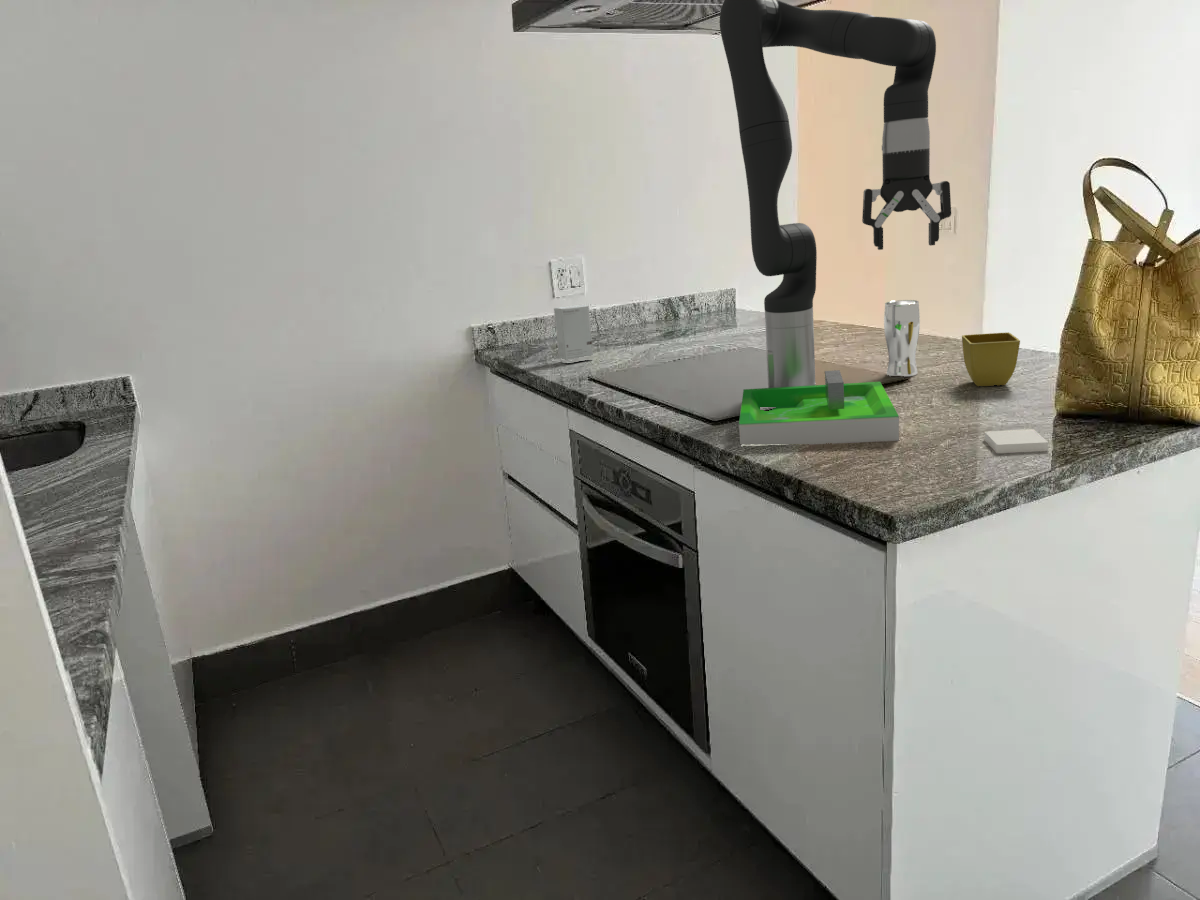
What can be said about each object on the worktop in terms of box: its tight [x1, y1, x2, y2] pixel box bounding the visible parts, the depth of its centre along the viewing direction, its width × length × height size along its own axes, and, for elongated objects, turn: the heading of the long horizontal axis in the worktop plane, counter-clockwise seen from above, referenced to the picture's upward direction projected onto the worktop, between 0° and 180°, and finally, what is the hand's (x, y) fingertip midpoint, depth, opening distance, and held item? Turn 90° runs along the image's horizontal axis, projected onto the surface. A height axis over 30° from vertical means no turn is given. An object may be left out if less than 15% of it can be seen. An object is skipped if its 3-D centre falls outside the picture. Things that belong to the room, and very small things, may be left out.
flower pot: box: [961, 332, 1021, 387], centre depth 165 cm, size 9×9×9 cm
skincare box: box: [553, 304, 594, 360], centre depth 233 cm, size 8×6×15 cm
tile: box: [983, 428, 1049, 454], centre depth 130 cm, size 2×7×7 cm
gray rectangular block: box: [824, 369, 845, 410], centre depth 149 cm, size 2×10×4 cm, turn 169°
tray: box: [738, 381, 900, 445], centre depth 152 cm, size 25×25×5 cm
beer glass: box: [883, 299, 921, 378], centre depth 179 cm, size 7×7×15 cm
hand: (906, 247), depth 151 cm, fingers open, 8 cm apart
